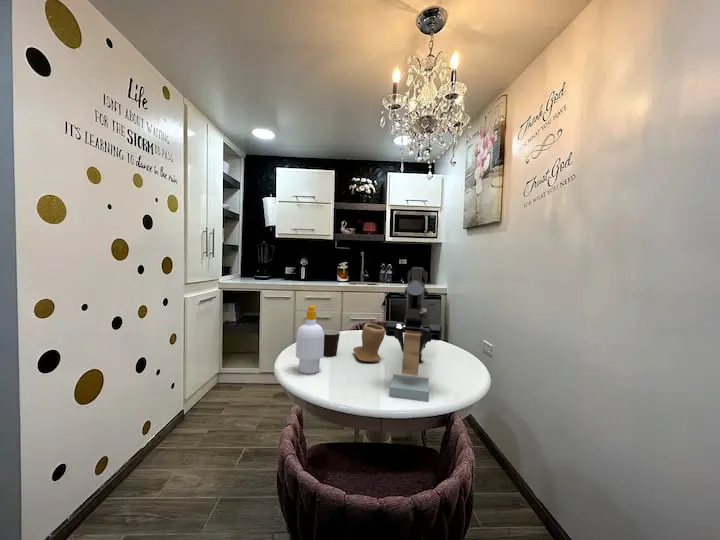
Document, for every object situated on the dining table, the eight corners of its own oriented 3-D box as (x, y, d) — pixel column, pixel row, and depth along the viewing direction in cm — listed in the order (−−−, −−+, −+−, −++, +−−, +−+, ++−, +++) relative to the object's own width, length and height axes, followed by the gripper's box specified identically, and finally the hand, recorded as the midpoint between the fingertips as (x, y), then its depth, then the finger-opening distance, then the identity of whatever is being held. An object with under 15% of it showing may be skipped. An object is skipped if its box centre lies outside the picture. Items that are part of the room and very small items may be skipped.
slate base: (393, 382, 114) (393, 374, 114) (428, 386, 112) (428, 378, 111) (389, 396, 102) (389, 387, 102) (428, 401, 100) (428, 391, 100)
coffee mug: (331, 359, 137) (332, 335, 137) (315, 355, 141) (316, 332, 141) (346, 352, 147) (347, 330, 147) (330, 349, 152) (331, 328, 151)
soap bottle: (327, 369, 125) (330, 306, 124) (313, 377, 115) (316, 309, 114) (305, 364, 129) (307, 303, 128) (289, 372, 119) (291, 306, 119)
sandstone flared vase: (386, 364, 134) (388, 327, 134) (358, 364, 132) (359, 327, 132) (378, 353, 149) (379, 320, 149) (352, 353, 147) (354, 320, 147)
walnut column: (403, 368, 110) (405, 330, 109) (418, 370, 109) (420, 331, 108) (401, 373, 105) (404, 333, 104) (417, 375, 104) (420, 335, 103)
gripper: (386, 297, 112) (380, 336, 101) (443, 301, 108) (442, 342, 97) (388, 316, 120) (383, 354, 109) (440, 320, 116) (440, 360, 105)
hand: (411, 352), depth 105 cm, fingers closed on walnut column, 5 cm apart
